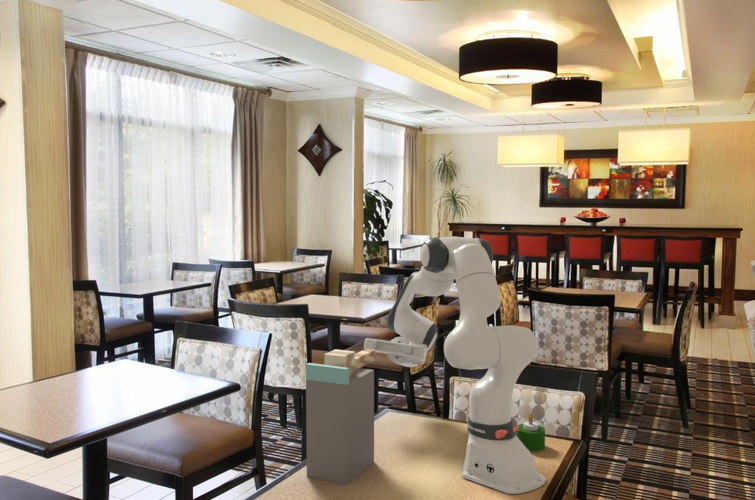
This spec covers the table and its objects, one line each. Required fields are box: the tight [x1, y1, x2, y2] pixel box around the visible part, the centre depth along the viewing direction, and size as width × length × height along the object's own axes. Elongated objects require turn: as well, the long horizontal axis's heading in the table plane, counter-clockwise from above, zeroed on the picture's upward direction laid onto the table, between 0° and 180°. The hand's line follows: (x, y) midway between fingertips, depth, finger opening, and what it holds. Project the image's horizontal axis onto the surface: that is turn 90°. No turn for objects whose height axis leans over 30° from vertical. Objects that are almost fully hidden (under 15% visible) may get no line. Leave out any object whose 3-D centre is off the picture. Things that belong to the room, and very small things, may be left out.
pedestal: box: [305, 362, 375, 485], centre depth 175 cm, size 16×12×30 cm
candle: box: [516, 413, 546, 453], centre depth 192 cm, size 8×8×10 cm
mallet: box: [323, 349, 377, 376], centre depth 181 cm, size 22×6×6 cm, turn 155°
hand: (388, 345), depth 201 cm, fingers open, 8 cm apart
